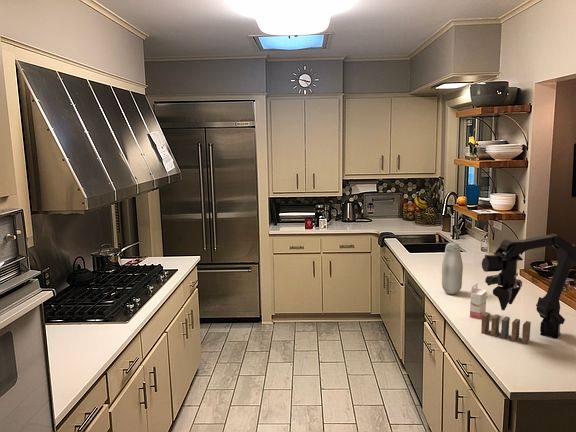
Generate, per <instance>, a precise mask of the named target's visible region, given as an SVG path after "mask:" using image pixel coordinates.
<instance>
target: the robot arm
mask: <svg viewBox="0 0 576 432" xmlns="http://www.w3.org/2000/svg"><path fill="white" fill-rule="evenodd" d="M551 246H552V247H553V248H554V249H555V250H556V260H557V263H556V266H555V269H554V271H553V275H552V278H551V281H550V283H549V287H548V289H547V291H546V294H545V295H544V296H542V297H540V296H539V297H538V300H537V303H536V305H535V306H536V309H535V310H536V311H537V313H538V314H539V317H540V318H542V320H541V322H540V325H539V326H540V327H539V328H540V329H539V332H540V333H539V334H540V335H541V336H545V337H549V338H554V339H559V337H560V336H561V325H564V323H565V321H566V318H564V317H563V316H562V315H561V314H560V311H561V304H560V298H561V296H562V292H563V289H564V287H565V284H566V282H567V279H568V276H569V273H570V270H571V268H572V267H573V266H574V265H575V264H576V245H575V244H572V243H571V242H569V241H567V240H565V239H564V238H562V236H560V235H559V234H555V233H549V234H547V235H546V234H545V235H540V236H535V237H530V238H523V239H517V238H507V239H503V240H502V241H501V242H500V245H499V246H498V248H497V249H496V250H495V251H494V253H493V254H485V255H484V257H483V259H482V260H481V268H482V271H483V272H485V273H488V272H499V273H498V274H493V275H487V276H486V277H485V280H484V283H486V284H487V286H491V285H497V286H496V287H494V288H493V289H492V295H493V296H494V297H495V298H497V299H498V301H499V306H500V308H501V309H500V310H501V311H505V310H506V308H507V306H508V305H512V304H513V302H514V301H515V299H516V298H517V295H518V294H519V292H520V290H521V288H522V287H523V281H522V280H521V279H519V278H517V276H518V275H519V273H518V271H517V270H518V261H523V260H524V259H523V258H522V256H520V255H522V254H524V253H525V252H526V251H529V250H535V249H539V248H545V247H551Z"/></svg>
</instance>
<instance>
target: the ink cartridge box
mask: <svg viewBox="0 0 576 432" xmlns="http://www.w3.org/2000/svg"><path fill="white" fill-rule="evenodd" d="M478 284H479V283H478V282H476V283H475V284H473V285H472V286H471V290H470V302H469V303H470V304H469V318H474V319H478V320H480V319H482V315H483V314H484V313H486V312H487V311H486V310H487V309H486V308H487V298H488V297H487V295H488V293H487V292H488V290H486V289H482V288H481V289H480V288H478Z"/></svg>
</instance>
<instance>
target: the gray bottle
mask: <svg viewBox="0 0 576 432" xmlns="http://www.w3.org/2000/svg"><path fill="white" fill-rule="evenodd" d="M461 252H462V251H461V246H460V244H459V243H457V242H456V241H455V242H453V241H450V242H448V243H447V244H446V245H445V249H444V255H443V260H442V265H441V287H442V289H443V291H444V292H445V293H446V294H448V295H456V294H459V292H461V291H460V290H461V289H462V287H463V286H462V285H463V273H464V272H463V269H464V265H463V258H462V253H461Z"/></svg>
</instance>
